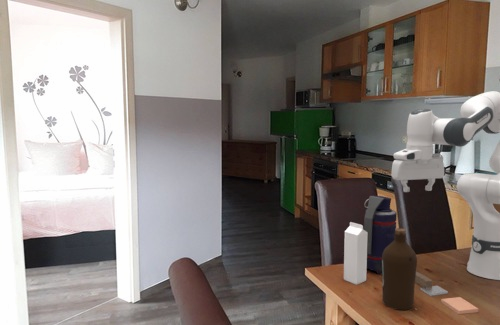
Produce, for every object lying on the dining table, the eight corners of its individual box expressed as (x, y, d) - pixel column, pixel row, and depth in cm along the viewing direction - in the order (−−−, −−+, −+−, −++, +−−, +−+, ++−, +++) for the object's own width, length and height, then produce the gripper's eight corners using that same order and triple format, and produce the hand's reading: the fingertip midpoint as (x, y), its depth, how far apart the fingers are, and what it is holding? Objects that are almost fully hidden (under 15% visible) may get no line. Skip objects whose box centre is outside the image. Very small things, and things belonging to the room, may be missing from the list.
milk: (353, 275, 147) (354, 220, 145) (366, 280, 142) (368, 223, 140) (343, 279, 144) (344, 223, 141) (356, 285, 139) (357, 226, 137)
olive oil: (419, 302, 125) (422, 228, 123) (408, 314, 117) (411, 236, 115) (387, 292, 132) (390, 223, 130) (375, 304, 124) (377, 230, 122)
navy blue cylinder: (376, 261, 162) (378, 192, 159) (400, 270, 152) (403, 197, 149) (354, 268, 154) (355, 196, 151) (378, 278, 144) (380, 201, 141)
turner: (418, 276, 146) (419, 269, 146) (447, 293, 132) (448, 285, 131) (402, 278, 144) (403, 271, 144) (430, 296, 130) (430, 287, 130)
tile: (459, 296, 126) (478, 308, 119) (459, 301, 127) (478, 313, 119) (441, 299, 125) (458, 310, 117) (441, 303, 125) (458, 315, 117)
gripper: (437, 152, 144) (435, 188, 145) (389, 154, 139) (388, 191, 140) (449, 153, 138) (447, 191, 139) (400, 155, 133) (398, 194, 134)
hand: (417, 191), depth 140 cm, fingers open, 8 cm apart
